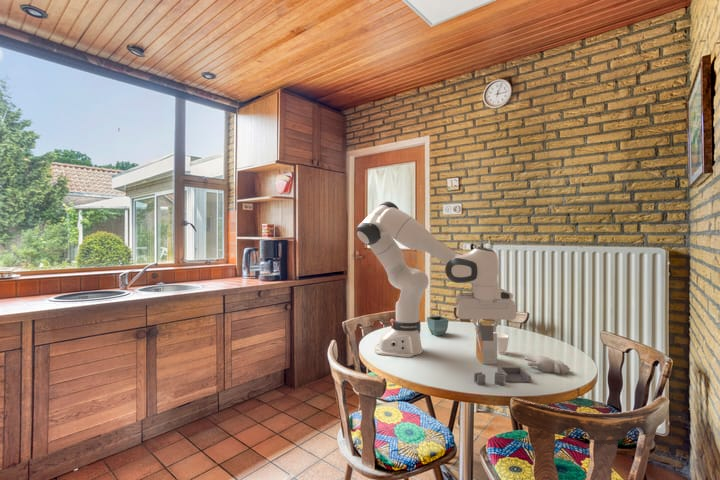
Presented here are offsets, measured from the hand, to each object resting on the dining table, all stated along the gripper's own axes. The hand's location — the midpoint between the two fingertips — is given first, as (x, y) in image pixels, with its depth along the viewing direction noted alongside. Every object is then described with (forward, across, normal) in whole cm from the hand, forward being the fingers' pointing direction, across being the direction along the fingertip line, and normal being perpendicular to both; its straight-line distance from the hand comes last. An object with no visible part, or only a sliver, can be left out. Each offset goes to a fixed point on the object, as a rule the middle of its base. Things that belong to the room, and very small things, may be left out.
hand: (485, 331), depth 123 cm
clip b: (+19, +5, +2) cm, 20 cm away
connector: (+3, 0, 0) cm, 3 cm away
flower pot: (+20, -10, +63) cm, 67 cm away
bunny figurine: (+20, +27, +16) cm, 37 cm away
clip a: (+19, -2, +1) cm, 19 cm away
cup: (+20, +14, +36) cm, 43 cm away
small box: (+20, +6, +25) cm, 32 cm away
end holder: (+19, +12, +8) cm, 24 cm away
